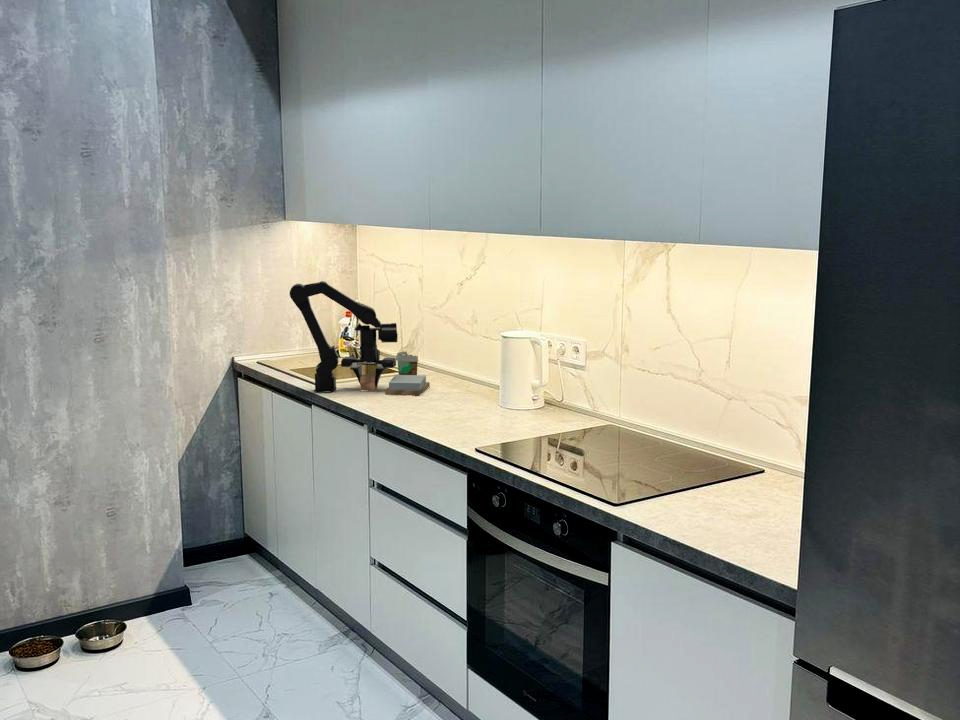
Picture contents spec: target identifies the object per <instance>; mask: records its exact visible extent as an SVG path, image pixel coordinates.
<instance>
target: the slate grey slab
mask: <svg viewBox="0 0 960 720" xmlns="http://www.w3.org/2000/svg"><path fill="white" fill-rule="evenodd" d="M426 382H427V375H422V374H421V375H420V374H417V375H399V374H395V375H394V376H393V377H392V379H390V381H388V387H389V390H421V389H422V387H423V386H424V384H425V383H426Z"/></svg>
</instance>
